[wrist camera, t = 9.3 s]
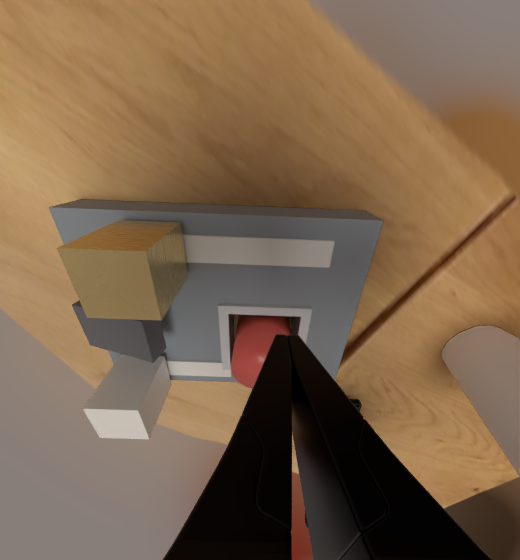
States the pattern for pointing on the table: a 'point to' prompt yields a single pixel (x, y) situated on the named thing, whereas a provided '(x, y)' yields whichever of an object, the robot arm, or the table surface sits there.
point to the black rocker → (124, 335)
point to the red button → (254, 344)
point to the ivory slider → (129, 398)
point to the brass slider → (127, 269)
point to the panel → (249, 274)
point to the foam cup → (490, 381)
